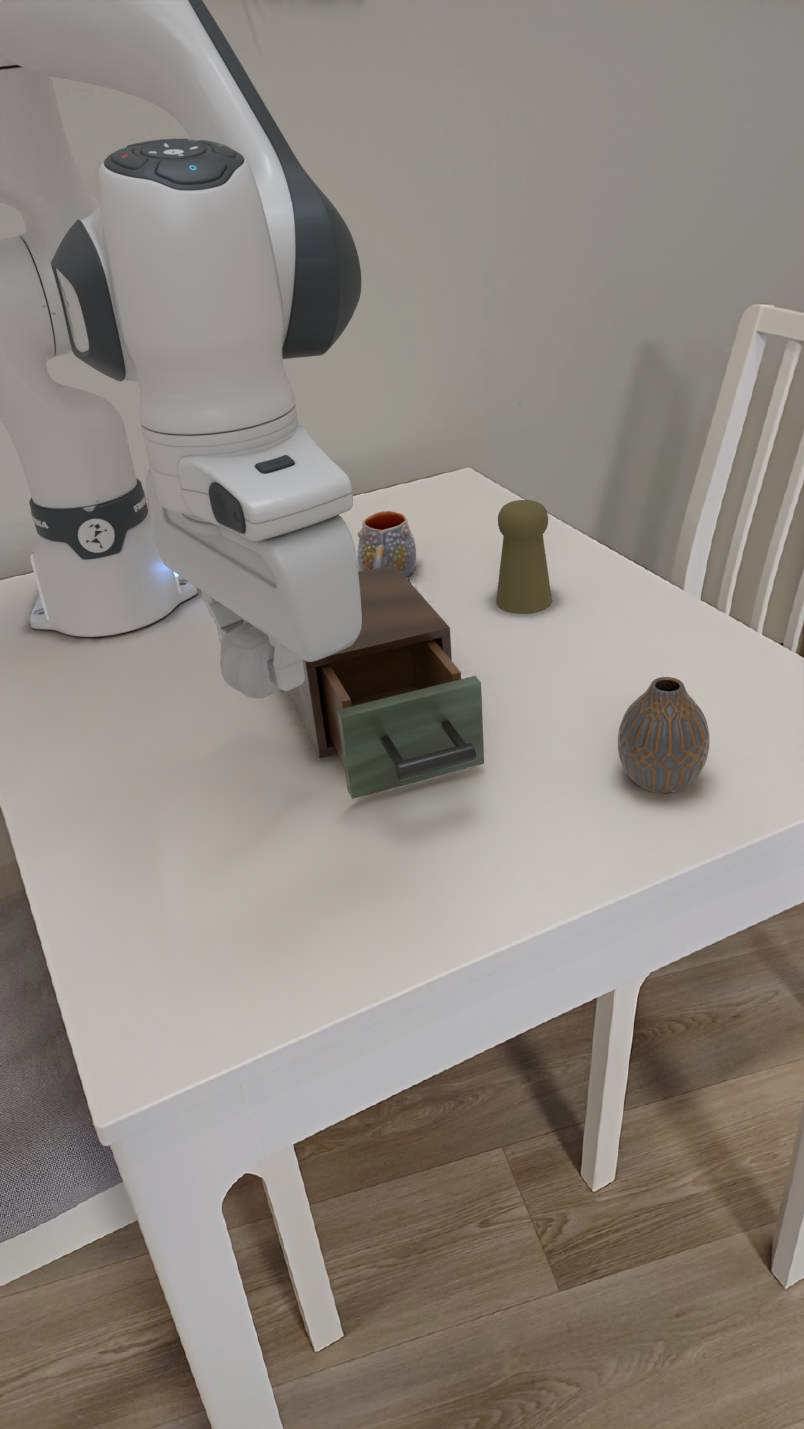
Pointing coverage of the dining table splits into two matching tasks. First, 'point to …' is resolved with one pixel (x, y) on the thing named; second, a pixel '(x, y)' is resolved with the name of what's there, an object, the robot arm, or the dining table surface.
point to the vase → (663, 738)
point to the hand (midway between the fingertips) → (262, 665)
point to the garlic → (247, 661)
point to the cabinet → (372, 640)
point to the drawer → (401, 717)
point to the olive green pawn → (523, 558)
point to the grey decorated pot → (386, 543)
